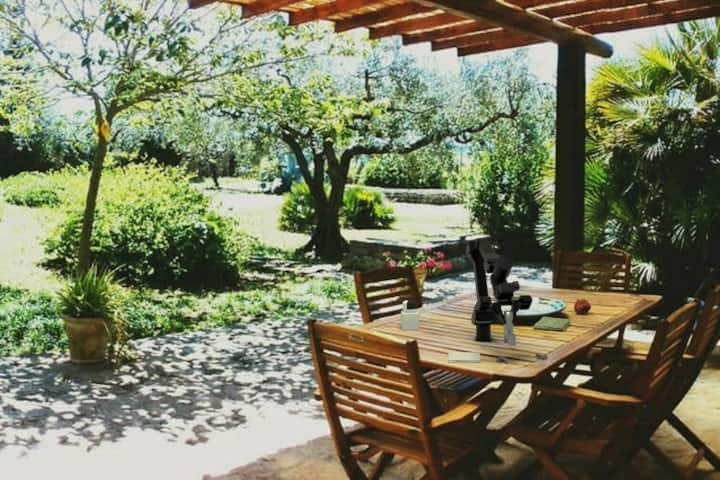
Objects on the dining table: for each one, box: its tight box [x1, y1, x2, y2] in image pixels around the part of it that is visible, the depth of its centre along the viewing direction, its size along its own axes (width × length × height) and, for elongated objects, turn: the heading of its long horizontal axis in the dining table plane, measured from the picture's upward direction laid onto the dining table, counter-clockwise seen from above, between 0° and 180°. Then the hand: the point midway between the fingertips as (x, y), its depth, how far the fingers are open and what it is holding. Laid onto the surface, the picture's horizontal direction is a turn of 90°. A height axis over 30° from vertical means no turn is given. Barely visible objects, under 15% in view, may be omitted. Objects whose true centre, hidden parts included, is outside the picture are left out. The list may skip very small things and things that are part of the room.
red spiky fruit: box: [573, 298, 592, 317], centre depth 331 cm, size 7×7×10 cm
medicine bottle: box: [400, 299, 420, 331], centre depth 308 cm, size 7×7×12 cm
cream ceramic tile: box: [448, 351, 482, 363], centre depth 256 cm, size 11×11×1 cm
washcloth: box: [532, 316, 571, 332], centre depth 306 cm, size 13×18×3 cm
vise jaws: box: [496, 352, 548, 364], centre depth 253 cm, size 5×19×1 cm, turn 104°
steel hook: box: [503, 310, 517, 347], centre depth 250 cm, size 7×3×11 cm, turn 6°
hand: (509, 323), depth 250 cm, fingers closed on steel hook, 3 cm apart
